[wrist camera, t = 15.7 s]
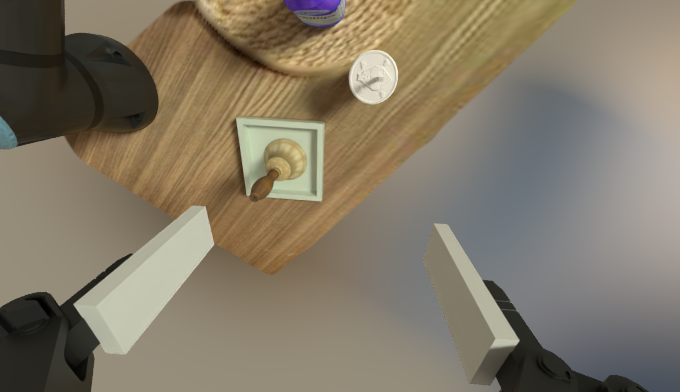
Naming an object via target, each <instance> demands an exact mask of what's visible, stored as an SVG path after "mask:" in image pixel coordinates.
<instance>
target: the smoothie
mask: <svg viewBox="0 0 680 392" xmlns="http://www.w3.org/2000/svg"><path fill="white" fill-rule="evenodd" d="M397 81H398V70H397V66H396V64H395V62H394V60H393V59H392V58H391V57H390V56H389V55H388V54H387V53H385V52H383V51H379V50H369V51H367V52H364V53H362V54H361V55H360V56H358V57H357V58H356V59H355V61H354V62H353V64H352V66H351V68H350V71H349V86H350V89H351V91H352V93H353V95H354V96H355V97H356V98H357V99H358V100H360V101H361V102H363V103H366V104H378V103H381V102H383V101H385V100H386V99H387V98H388V97H389V96H390V95H391V94H392V93H393V91H394V90H395V87H396V85H397Z"/></svg>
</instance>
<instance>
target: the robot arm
mask: <svg viewBox="0 0 680 392" xmlns="http://www.w3.org/2000/svg"><path fill="white" fill-rule="evenodd" d="M64 21H65V9H64V0H0V149H12V148H15V147H17V146H21V145H26V144H30V143H34V142H38V141H43V140H47V139H51V138H56V137H60V136H64V135H68V134H73V133H77V132H81V131H86V130H97V131H108V132H118V133H125V132H132V131H135V130H139V129H142V128H145V127H146V126H148V125H149V124H150V123H151V122H152V121H153V120H154V118H155V116H156V114H157V110H158V94H157V89H156V86H155V83H154V81H153V78H152V76H151V75H150V73H149V71H148V69H147V68H146V66H145V65H144V64H143V62H142V61H141V60H140V59H139V58H138V57H137V56H136V55H135V54H134V53H133V52H132V51H131V50H130V49H129V48H127V47H126V46H124V45H123V44H121V43H120V42H118V41H116V40H114V39H112V38H109V37H106V36H102V35H95V34H89V33H75V34H70V35H67V36H65V22H64ZM213 245H214V241H213V237H212V233H211V229H210V224H209V220H208V216H207V211H206V207H205V206H191V207H190V208H189V209H188V210H186V211H185V212H184V213H183V214H182V215H180V216H179V217H178V218H177V219H176V220H174V221H173V222H172V223H171V224H170V225H168V226H167V227H166V228H165V229H163V230H162V231H161V232H160V233H159V234H157V235H156V236H155V237H154V238H153V239H152V240H150V241H149V242H148V243H147V244H145V245H144V246H143V247H142V248H141V249H140V250H138V251H137V252H136V253H135V254H129V255H127V256H125V257H123V258H121V259H119V260H117V261H116V262H115V263H114V264H112V265H111V266H110V267H108V268H107V269H106V271H105V272H102V273H101V274H100V275H98V276H97V277H96V279H93V280H92V281H91V282H90V283H88V284H87V285H86V286H85V287H84V288H82V289H81V290H80V291H78V292H77V293H76V294H75V295H73V296H72V297H71V298H70V299H69V300H67V301H66V302H65V303H64V304H62V305H61V306H59V305H58V304H57V303H56V301H55V300H54V298H53V297H52V296H51V294H49V293H47V292H37V293H32V294H28V295H25V296H22V297H20V298H17V299H15V300H13V301H11V302H9V303H7V304H5V305H3V306H2V307H1V308H0V392H91V386H92V376H93V368H94V354H93V353H92V351H93V350H94V349H95V348H96V347H97V346H98V345H99V344H100V345H101V346H102V348H103V349H104V351H105V352H106V353H112V354H124V355H126V353H127V352H128V351H129V350H130V348H131V347H132V346H133V345H134V343H135V342H136V341H137V339H138V338H139V337H140V336H141V335H142V334H143V332H144V331H145V330H146V329H147V327H148V326H149V325H150V324H151V322H152V321H153V320H154V319H155V317H156V316H157V315H158V314H159V312H160V311H161V310H162V309H163V307H164V306H165V305H166V304H167V302H168V301H169V300H170V299H171V298H172V296H173V295H174V294H175V293H176V291H177V290H178V289H179V288H180V286H181V285H182V284H183V283H184V281H185V280H186V279H187V278H188V276H189V275H190V274H191V273H192V271H193V270H194V269H195V268H196V266H197V265H198V264H199V263H200V261H201V260H202V259H203V258H204V257H205V255H206V254H207V253H208V252H209V250H210V249H211V248H212V247H213ZM423 261H424V264H425V266H426V269H427V272H428V274H429V277H430V279H431V282H432V285H433V288H434V290H435V293H436V296H437V298H438V301H439V303H440V306H441V309H442V311H443V314H444V317H445V320H446V322H447V325H448V328H449V330H450V333H451V336H452V338H453V341H454V343H455V346H456V349H457V352H458V354H459V357H460V360H461V362H462V365H463V368H464V370H465V373H466V376H467V378H468V381H469V383H470V384H480V385H491V383H492V381H493V380H494V378H495V377H496V378H497V380H498V382H499V384H500V386H501V390H500V391H499V392H648V391H647V390H646V389H644V388H643V387H641V386H640V385H639V384H637V383H635V382H633V381H631V380H629V379H628V378H625V377H622V376H618V375H610V376H608V377H607V378H606V379H605V380H604V381H603V382H602V381H599V380H596V379H594V378H591V377H588V376H585V375H583V374H580V373H577V372H575V371H573V370H571V368H570V367H569V366H568V365H567V364H566V363H565V362H564V361H563V360H562V359H561V358H559V357H558V356H556V355H555V354H554V353H552V352H550V351H547V350H545V349H543V348H542V346H541V345H540V344H539V342H538V341H537V339H536V338H535V336H534V335H533V333H532V332H531V330H530V329H529V327H528V326H527V325H526V323H525V322H524V320H523V319H522V317H521V316H520V314H519V313H518V312H516V309H515V307H514V306H513V304H512V303H510V300H509V299H508V297H507V296H506V294H505V293H504V291H503V290H502V289H501V288H500V287H498V286H497V285H496V284H495V283H494V282H493V281H488V280H482V279H481V278H480V276H479V275H478V273H477V271H476V270H475V268H474V267H473V265H472V263H471V262H470V260H469V258H468V257H467V255H466V254H465V252H464V250H463V249H462V247H461V246H460V244H459V242H458V241H457V239H456V238H455V236H454V234H453V233H452V231H451V230H450V228H449V226H448V225H447V224H433V228H432V232H431V235H430V239H429V243H428V246H427V249H426V253H425V256H424V260H423Z"/></svg>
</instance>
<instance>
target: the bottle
mask: <svg viewBox="0 0 680 392" xmlns="http://www.w3.org/2000/svg"><path fill="white" fill-rule="evenodd" d="M283 1H284V3H285V5H286V6H287V7H288V8H289V9H290V10H291V11H292V12H293V13H294V14H295V15H296V16H297V17H298V18H299V19H300V20H301V21H302V22H303V23H305V24H307V25H309V26H313V27H329V26H333V25H335V24H337V23H339V22H340V21H341V19H342V18H343V16H344V13H345V7H346V0H283Z"/></svg>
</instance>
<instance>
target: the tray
mask: <svg viewBox="0 0 680 392" xmlns="http://www.w3.org/2000/svg"><path fill="white" fill-rule="evenodd" d="M236 121H237V128H238V136H239V143H240V150H241V157H242V165H243V172H244V179H245V187H246V194H247V196H250V193H251V188H252V186H253V184H254V183H255V182H256V181H257V180H258V179H259V178H261V177H264V176H266V175H267V173H266V169H265V166H266V165H265V162H264V152H265V149H266V147H267V146H268V145H269V144H270V143H271V142H272V141H274V140H276V139H282V138H284V139H290V140H292V141H294V142H296V143H297V144H299V145H300V146H301V147H302V149H303V150H304V152H305V154H306V158H307V166H306V169H305V171H304V173H303V174H302V175H301V176H300V177H298V178H296V179H293V180H284V181H274V185H273V188H272V190H271V192H270V193H269V195H268V196H266V197H270V198H284V199H297V200H311V201H322V198H323V178H324V142H325V121H314V120H300V119H285V118H270V117H255V116H240V117H237V118H236Z"/></svg>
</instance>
